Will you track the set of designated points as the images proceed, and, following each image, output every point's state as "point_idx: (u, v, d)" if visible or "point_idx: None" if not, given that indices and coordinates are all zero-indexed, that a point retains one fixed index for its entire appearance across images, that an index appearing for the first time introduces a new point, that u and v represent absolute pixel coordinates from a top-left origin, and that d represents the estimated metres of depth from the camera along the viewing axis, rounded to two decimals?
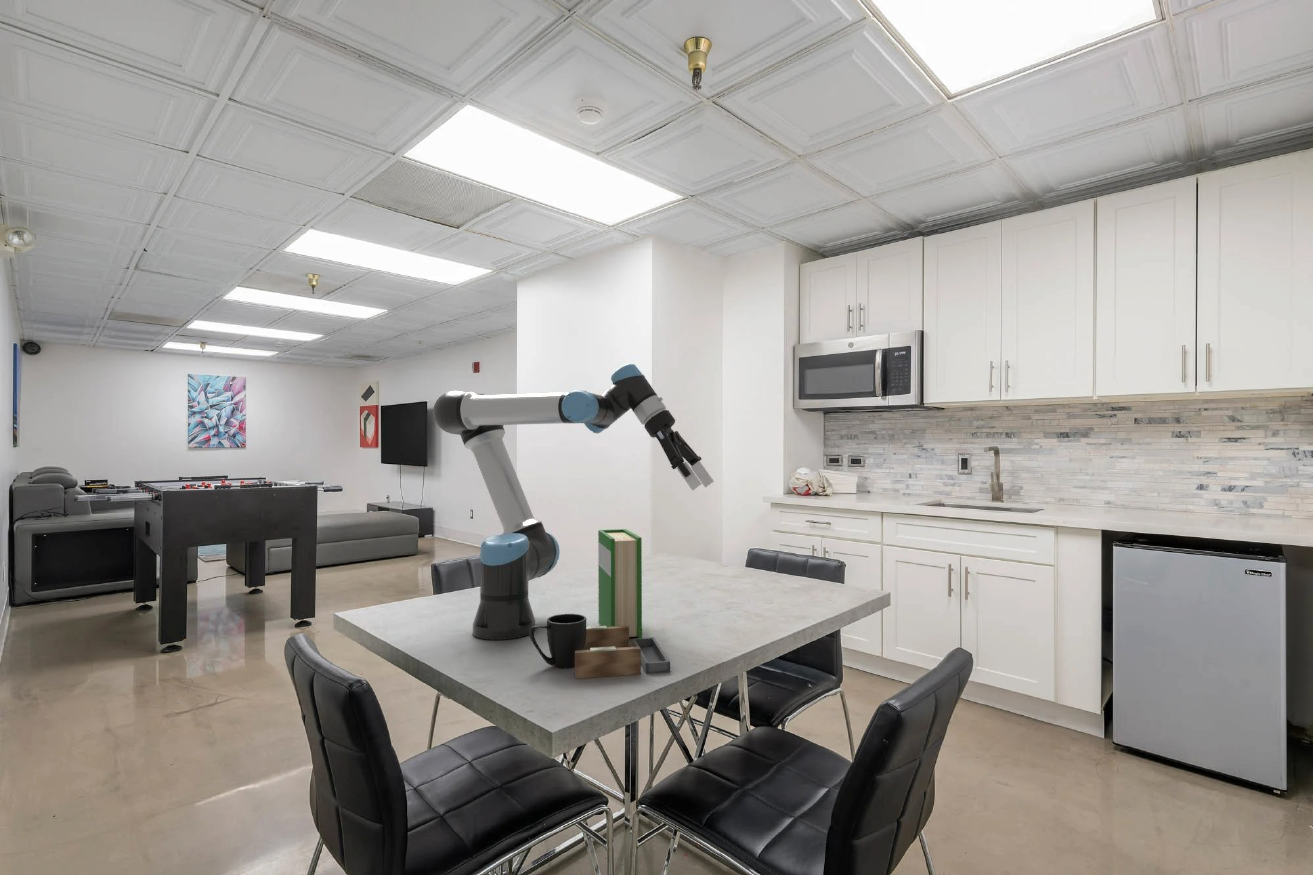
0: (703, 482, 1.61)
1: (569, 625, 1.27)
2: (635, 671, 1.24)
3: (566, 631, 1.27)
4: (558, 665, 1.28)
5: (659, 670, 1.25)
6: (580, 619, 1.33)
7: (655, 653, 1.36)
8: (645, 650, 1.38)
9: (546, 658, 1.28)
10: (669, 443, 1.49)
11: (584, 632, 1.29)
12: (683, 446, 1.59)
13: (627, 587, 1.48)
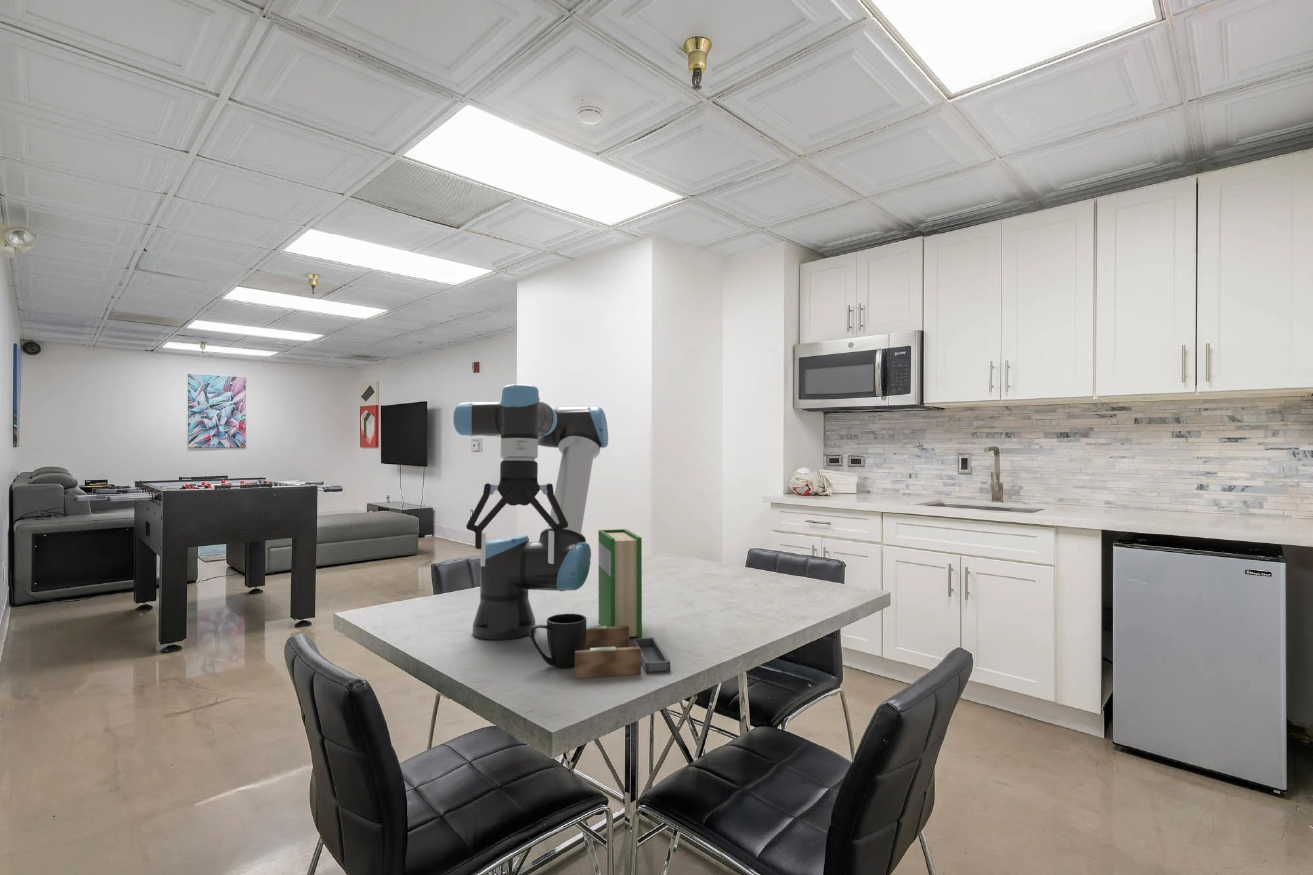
0: (548, 556, 1.30)
1: (569, 625, 1.27)
2: (635, 671, 1.24)
3: (566, 631, 1.27)
4: (558, 665, 1.28)
5: (659, 670, 1.25)
6: (580, 619, 1.33)
7: (655, 653, 1.36)
8: (645, 650, 1.38)
9: (546, 658, 1.28)
10: (478, 504, 1.24)
11: (584, 632, 1.29)
12: (535, 507, 1.28)
13: (627, 587, 1.48)
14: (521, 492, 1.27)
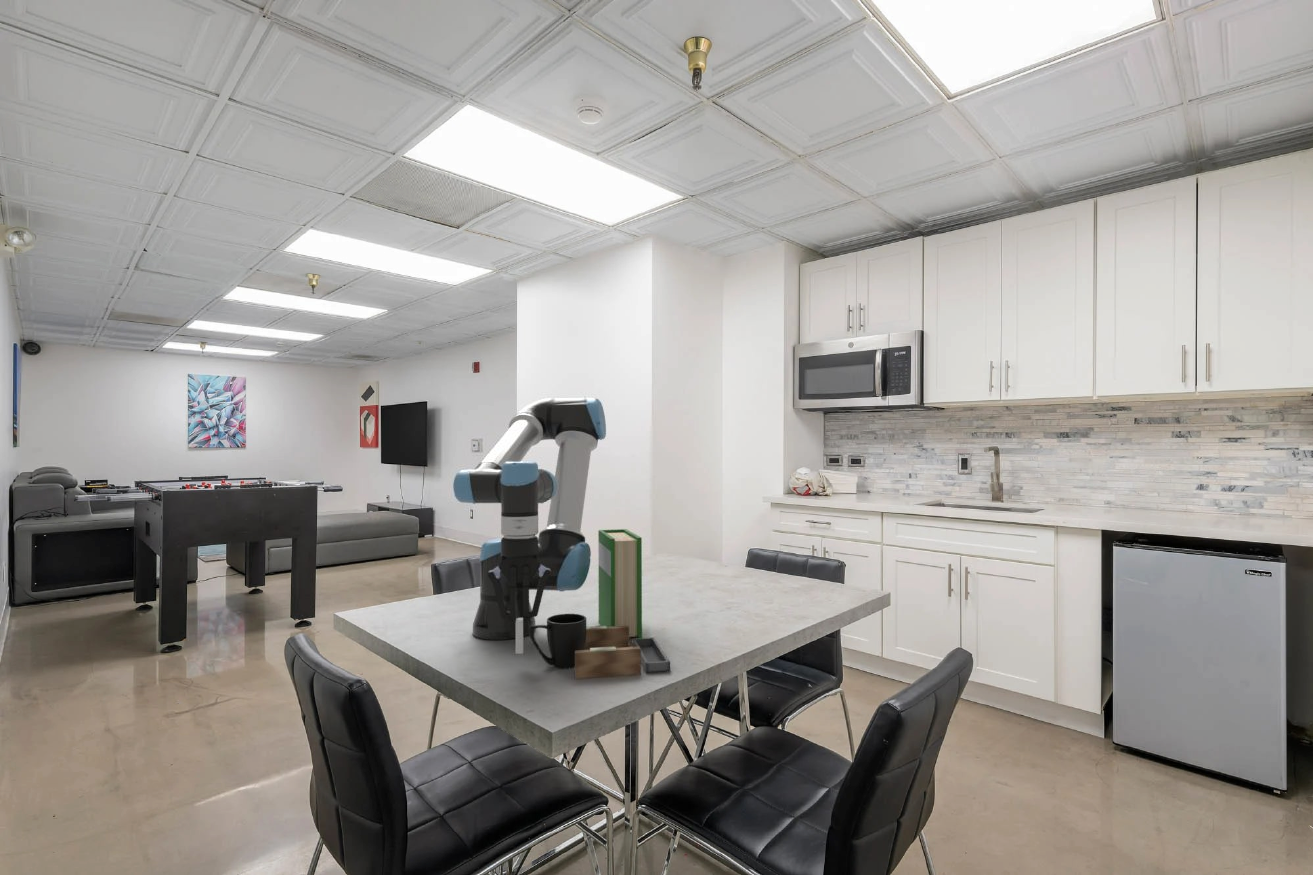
0: None
1: (569, 625, 1.27)
2: (635, 671, 1.24)
3: (566, 631, 1.27)
4: (558, 665, 1.28)
5: (659, 670, 1.25)
6: (580, 619, 1.33)
7: (655, 653, 1.36)
8: (645, 650, 1.38)
9: (546, 658, 1.28)
10: (495, 593, 1.27)
11: (584, 632, 1.29)
12: (522, 587, 1.28)
13: (627, 587, 1.48)
14: (521, 566, 1.28)
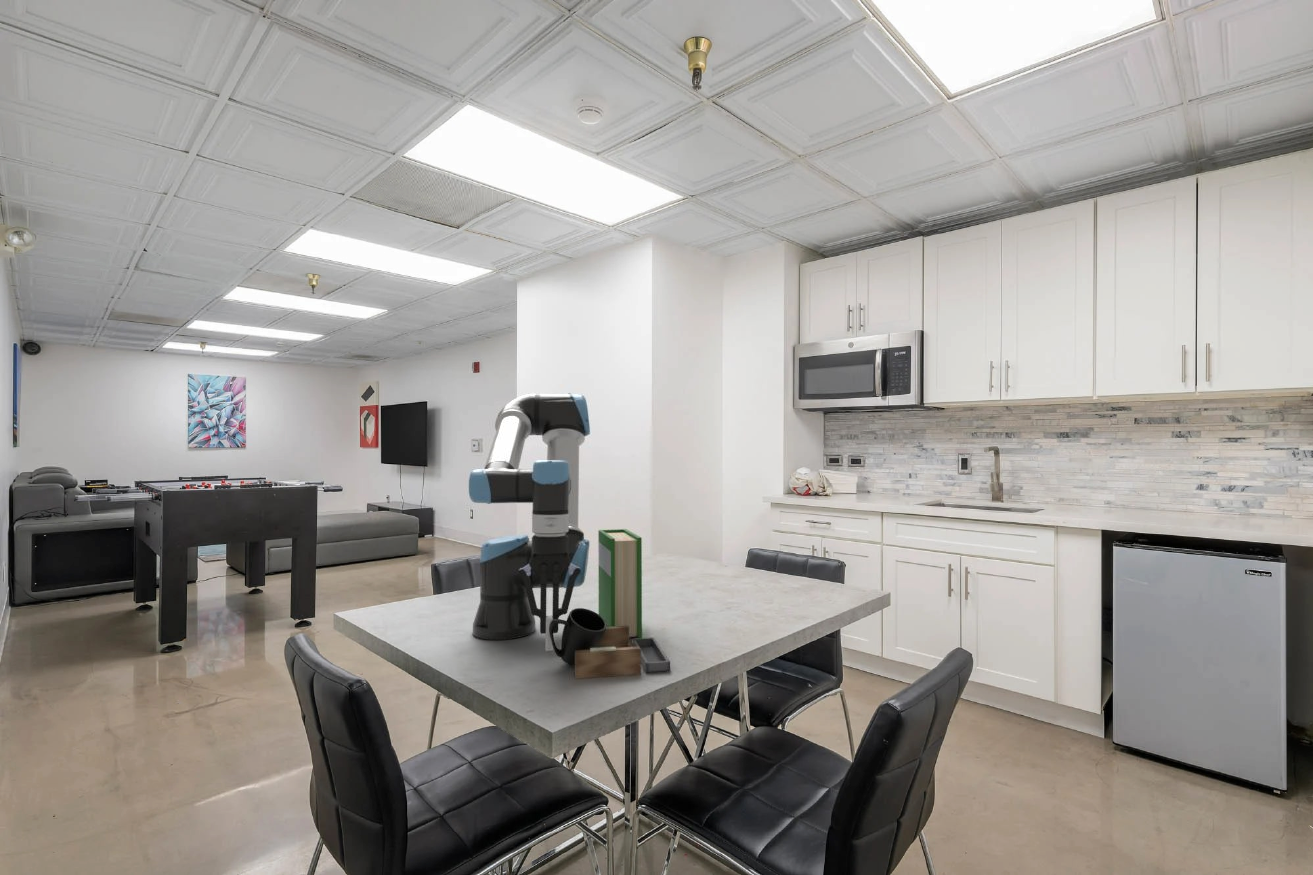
0: None
1: (591, 632, 1.25)
2: (635, 671, 1.24)
3: (586, 637, 1.25)
4: (565, 660, 1.28)
5: (659, 670, 1.25)
6: (599, 621, 1.31)
7: (655, 653, 1.36)
8: (645, 650, 1.38)
9: (557, 651, 1.27)
10: (526, 591, 1.28)
11: (601, 639, 1.28)
12: (553, 584, 1.29)
13: (627, 587, 1.48)
14: (552, 564, 1.29)
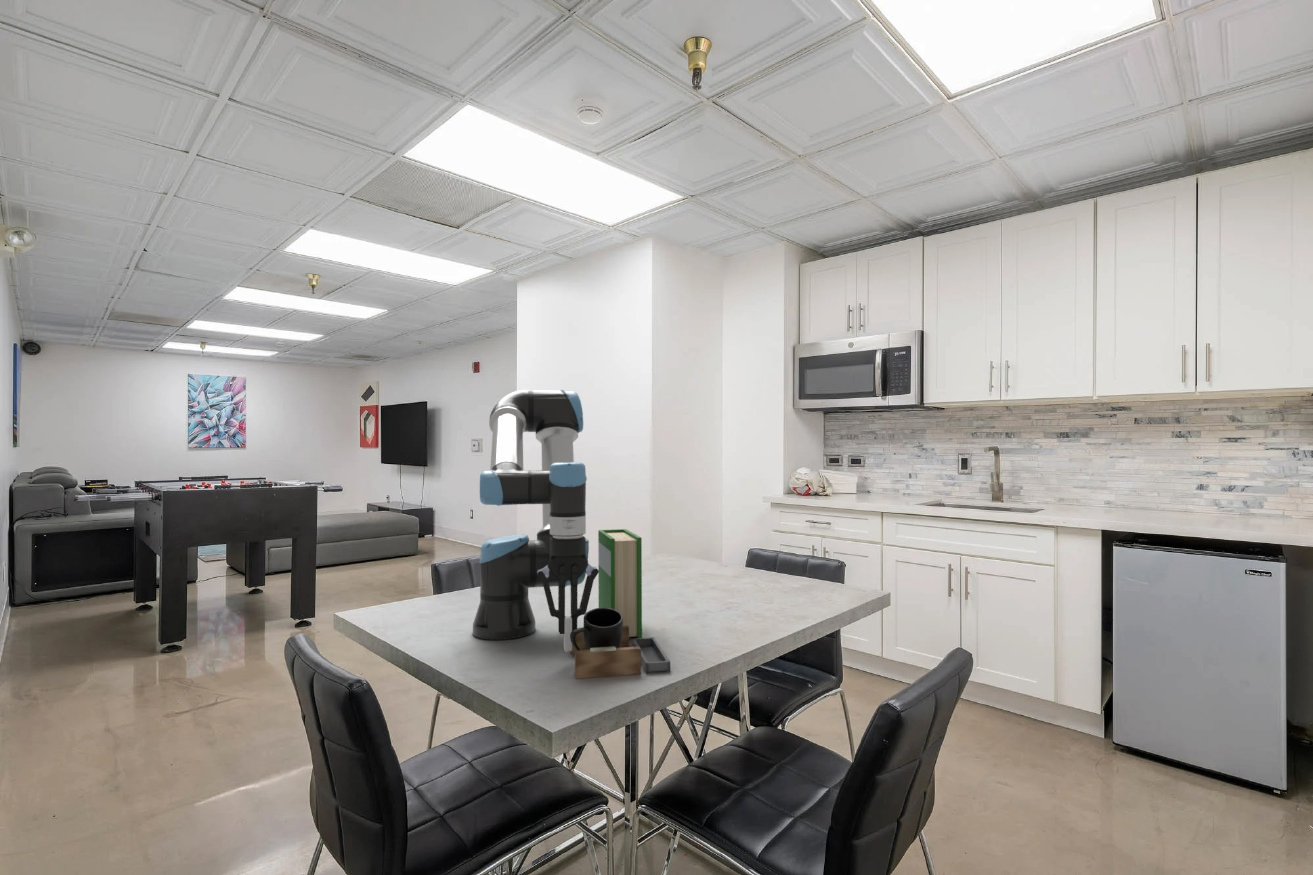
0: None
1: (611, 628, 1.26)
2: (635, 671, 1.24)
3: (608, 634, 1.27)
4: None
5: (659, 670, 1.25)
6: (613, 613, 1.33)
7: (655, 653, 1.36)
8: (645, 650, 1.38)
9: None
10: (545, 592, 1.29)
11: (622, 630, 1.30)
12: (571, 586, 1.30)
13: (627, 587, 1.48)
14: (570, 565, 1.30)
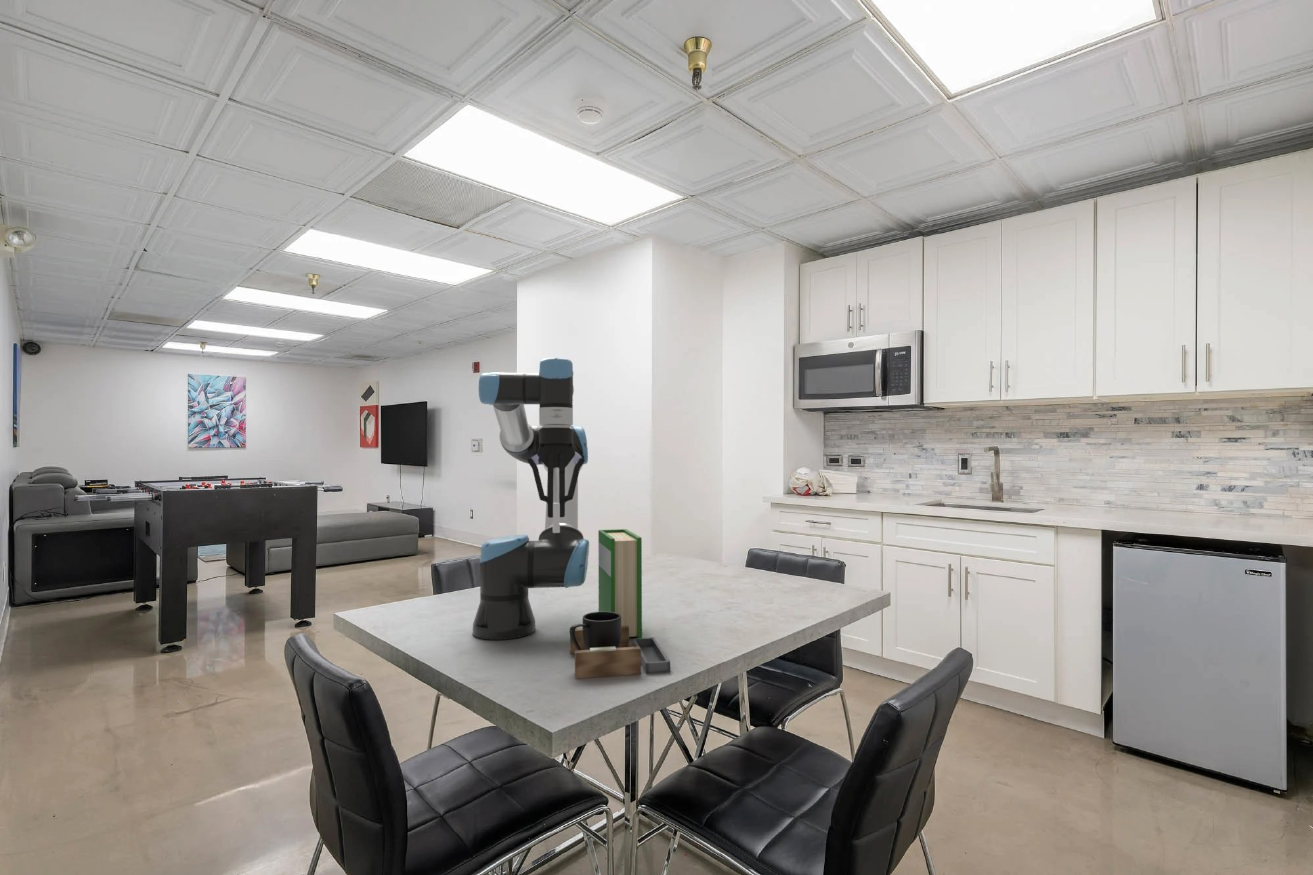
0: None
1: (610, 622, 1.29)
2: (635, 671, 1.24)
3: (607, 628, 1.29)
4: None
5: (659, 670, 1.25)
6: (611, 616, 1.36)
7: (655, 653, 1.36)
8: (645, 650, 1.38)
9: None
10: None
11: (620, 628, 1.32)
12: (559, 473, 1.40)
13: (627, 587, 1.48)
14: (558, 454, 1.40)
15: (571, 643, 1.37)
